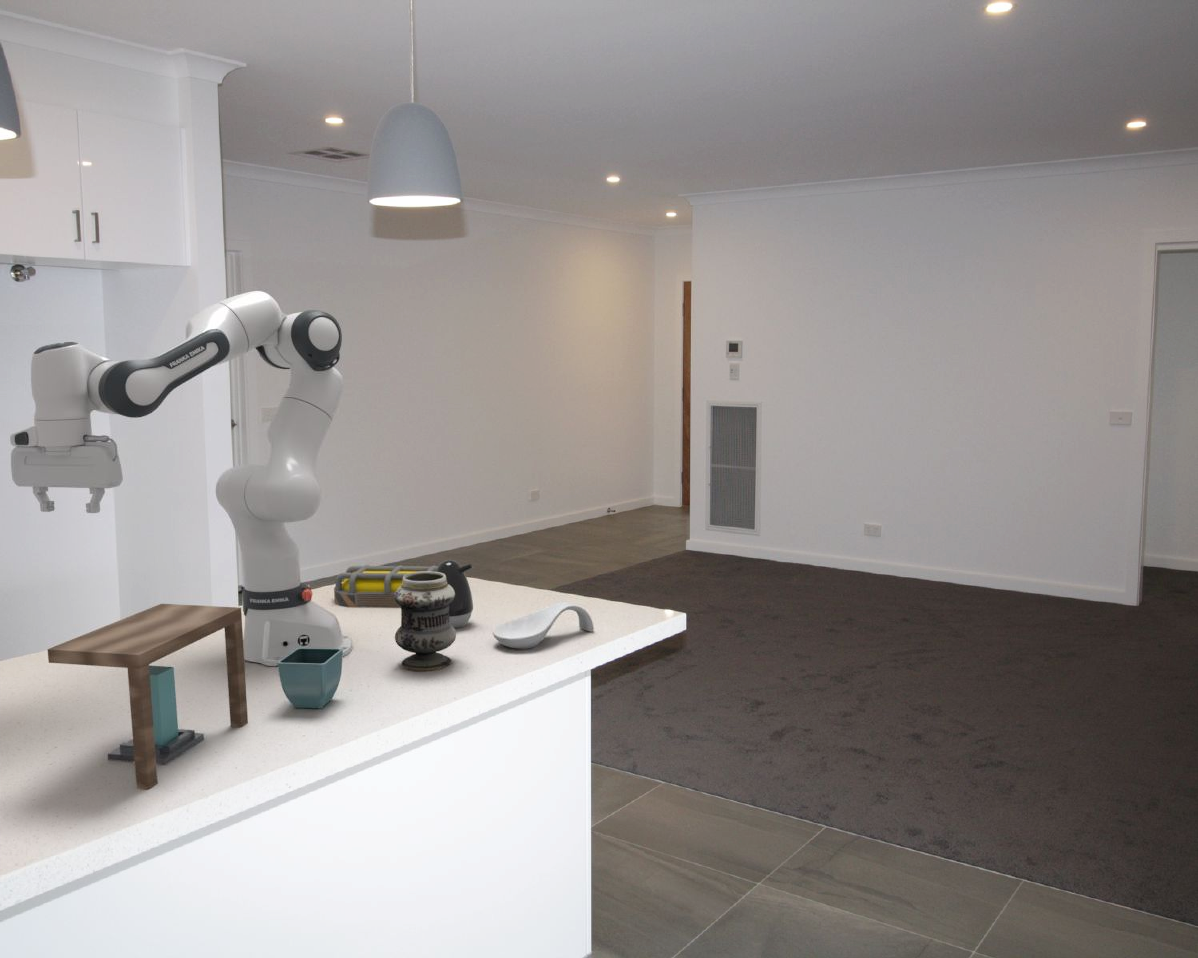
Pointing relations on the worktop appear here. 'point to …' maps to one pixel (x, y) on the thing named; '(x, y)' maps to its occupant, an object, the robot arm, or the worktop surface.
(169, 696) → the teal box
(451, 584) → the black rounded upright piece
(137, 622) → the overhang shelf
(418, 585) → the apothecary jar
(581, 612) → the spoon rest
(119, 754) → the seat cradle
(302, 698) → the flower pot
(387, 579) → the cage light
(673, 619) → the worktop surface
